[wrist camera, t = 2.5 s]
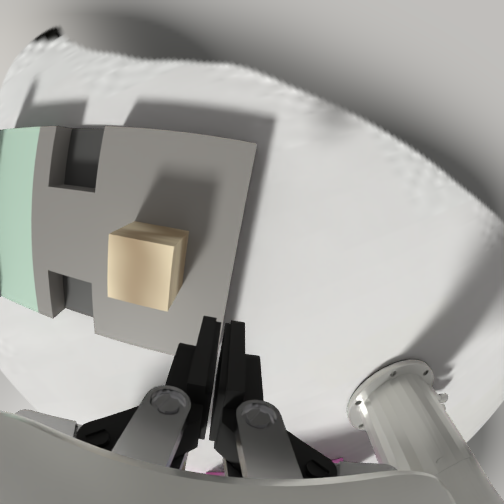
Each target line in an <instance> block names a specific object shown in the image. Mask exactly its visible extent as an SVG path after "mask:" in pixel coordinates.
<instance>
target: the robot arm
mask: <svg viewBox="0 0 504 504" xmlns="http://www.w3.org/2000/svg"><path fill="white" fill-rule="evenodd" d="M216 320H217V318H215V317H209V316H203V320H202V324H201V328H200V332H199V336H198V340H197V344H196V346H194V345H189V344H184V343H179V345H178V348H177V351H176V354H175V357H174V360H173V363H172V366H171V369H170V372H169V375H168V378H167V381H166V384H165V386H158V387H155V388H153V389H151V390H150V391H149V392H148V393H147V394H146V396H145V397H144V399H143V400H142V402H141V404H140V405H139V406H137V407H134V408H132V409H129V410H126V411H123V412H120V413H117V414H114V415H110V416H107V417H104V418H101V419H97V420H94V421H91V422H88V423H86V424H83V425H79V424H77V423H76V421H73V420H68V419H63V418H59V417H55V416H51V415H47V414H43V413H39V412H35V411H32V410H26V409H25V410H20V411H18V412H17V413H15V414H13V413H9V412H5V411H0V504H504V501H503V499H502V498H501V497H500V496H499V494H498V493H497V491H496V490H495V489H494V487H493V485H492V484H491V482H490V481H489V479H488V478H487V476H486V474H485V473H484V471H483V470H482V468H481V466H480V465H479V463H478V461H477V460H476V458H475V456H474V455H473V453H472V451H471V450H470V448H469V447H468V445H467V443H466V442H465V440H464V439H463V437H462V435H461V434H460V432H459V431H458V429H457V428H456V426H455V425H454V423H453V421H452V420H451V418H450V417H449V415H448V414H447V412H446V411H445V409H446V407H445V405H444V404H440V403H444V402H446V401H447V400H448V395H447V394H446V393H444V394H437V393H436V392H435V390H434V389H433V387H432V386H433V382H434V375H433V372H432V370H431V368H430V367H429V366H428V365H427V364H426V363H425V362H423V361H420V360H404V361H400V362H397V363H394V364H391V365H389V366H387V367H385V368H383V369H381V370H380V371H378V372H376V373H375V374H373V375H372V376H371V377H369V378H368V379H367V380H366V381H365V382H364V383H363V384H361V385H360V386H359V388H358V389H357V390H356V391H355V392H354V394H353V395H352V397H351V399H350V401H349V403H348V406H347V415H348V419H349V421H350V423H351V424H352V426H353V427H355V428H357V429H360V430H363V431H366V432H367V434H368V437H369V440H370V442H371V445H372V447H373V450H374V453H375V455H376V458H377V461H378V463H379V464H374V463H357V462H346V461H339V463H333V462H332V461H331V460H330V459H329V458H327V457H326V456H324V455H323V454H321V453H320V452H318V451H316V450H315V449H313V448H312V447H310V446H309V445H307V444H306V443H304V442H303V441H301V440H300V439H298V438H297V437H296V436H294V435H293V434H291V433H290V432H288V431H287V430H286V428H285V425H284V422H283V419H282V417H281V414H280V412H279V410H278V409H277V408H276V407H275V406H274V405H272V404H270V403H268V402H265V401H263V389H262V377H261V364H260V357H259V356H256V355H249V354H245V323H244V322H238V321H232V320H231V324H229V323H226V324H225V329H224V335H223V340H222V346H221V351H220V357H219V362H218V368H217V374H216V381H215V390H214V399H213V408H212V417H211V426H210V435H209V440H211V441H215V442H214V449H215V450H216V451H217V452H218V453H219V454H220V455H222V456H223V466H224V472H225V476H218V475H210V474H203V473H196V472H190V471H185V470H181V469H182V467H183V464H184V461H185V459H186V455H187V452H189V451H191V450H193V449H195V448H196V447H197V446H198V439H205V433H206V427H207V421H208V415H209V409H210V403H211V397H212V391H213V384H214V376H215V368H216V360H217V352H218V345H219V337H220V330H221V322H217V321H216Z"/></svg>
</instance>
